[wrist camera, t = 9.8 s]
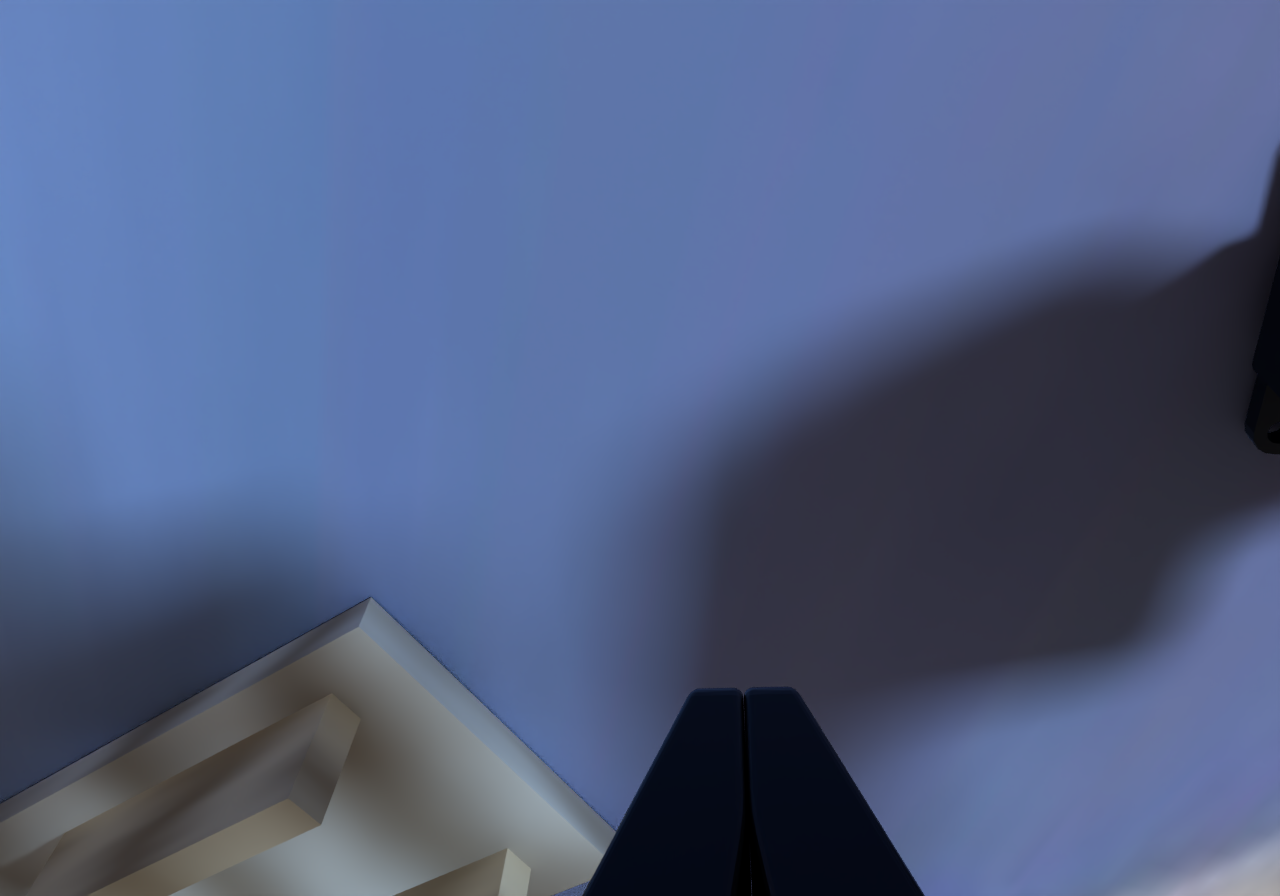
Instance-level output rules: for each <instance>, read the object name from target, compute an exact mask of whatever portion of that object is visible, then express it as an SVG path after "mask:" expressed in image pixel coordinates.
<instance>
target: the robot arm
mask: <svg viewBox="0 0 1280 896" xmlns="http://www.w3.org/2000/svg"><path fill="white" fill-rule="evenodd" d="M1252 367H1253V369H1254V371H1255V372H1256V373H1257V378H1256V382H1255V386H1254V390H1253V393H1252V397H1251V401H1250V405H1249V409H1248V412H1247V416H1246V420H1245V432H1246V434H1247V435H1248V437H1249V438H1250V440H1251V441H1252V442H1253V443H1254V445H1255V446H1256V447H1257V448H1258V449H1259V450H1261V451H1263V452H1265V453H1269V454H1280V429H1278V430H1277V431H1274V432H1270V433H1268V431H1269V429H1270V427H1271V426H1273V425H1274V424H1276V423H1277V422H1280V257H1279V261H1278V265H1277V269H1276V273H1275V277H1274V281H1273V285H1272V288H1271V292H1270V296H1269V300H1268V304H1267V308H1266V312H1265V316H1264V319H1263V323H1262V327H1261V331H1260V335H1259V339H1258V343H1257V346H1256V350H1255V354H1254V358H1253V362H1252ZM744 716H745V723H744ZM745 743H746V744H745ZM750 860H751V863H750ZM751 881H752V888H751ZM582 896H925V895H924V894H923V892H922V890H921V889H920V887H919V886H918V884H917V882H916V881H915V879H914V877H913V876H912V874H911V873H910V871H909V869H908V868H907V866H906V865H905V863H904V861H903V860H902V858H901V857H900V855H899V853H898V852H897V850H896V848H895V847H894V845H893V844H892V842H891V840H890V839H889V837H888V836H887V834H886V832H885V831H884V829H883V828H882V826H881V824H880V823H879V821H878V820H877V818H876V816H875V815H874V813H873V811H872V810H871V808H870V807H869V805H868V803H867V802H866V800H865V799H864V797H863V795H862V794H861V792H860V791H859V789H858V787H857V786H856V784H855V782H854V781H853V779H852V778H851V776H850V774H849V773H848V771H847V770H846V768H845V766H844V765H843V763H842V762H841V760H840V758H839V757H838V755H837V754H836V752H835V750H834V749H833V747H832V745H831V744H830V742H829V741H828V739H827V737H826V736H825V734H824V733H823V731H822V729H821V728H820V726H819V725H818V723H817V721H816V720H815V718H814V716H813V715H812V713H811V712H810V710H809V708H808V707H807V705H806V704H805V702H804V700H803V699H802V697H801V696H800V694H799V693H798V692H797V691H796V690H795V689H793V688H791V687H753V688H749V689H748V690H746V692H745V694H744V702H743V694H742V693H741V691H740V690H738V689H737V688H704V689H695V690H694V691H692V692H691V693H690V694H689V696H688V697H687V699H686V701H685V703H684V704H683V706H682V708H681V710H680V712H679V714H678V716H677V718H676V720H675V721H674V723H673V725H672V727H671V729H670V731H669V733H668V735H667V737H666V738H665V740H664V742H663V744H662V746H661V748H660V750H659V752H658V754H657V755H656V757H655V759H654V761H653V763H652V765H651V767H650V769H649V771H648V772H647V774H646V776H645V778H644V780H643V782H642V784H641V786H640V788H639V789H638V791H637V793H636V795H635V797H634V799H633V801H632V803H631V805H630V806H629V808H628V810H627V812H626V814H625V816H624V818H623V820H622V822H621V823H620V825H619V827H618V829H617V831H616V833H615V835H614V837H613V839H612V840H611V842H610V844H609V846H608V848H607V850H606V852H605V854H604V856H603V857H602V859H601V861H600V863H599V865H598V867H597V869H596V871H595V872H594V874H593V876H592V878H591V880H590V882H589V884H588V886H587V888H586V889H585V891H584V893H583V895H582Z"/></svg>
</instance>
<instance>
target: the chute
mask: <svg viewBox="0 0 1280 896" xmlns="http://www.w3.org/2000/svg"><path fill="white" fill-rule="evenodd" d="M615 833H616V831H615V830H614V829H613V828H612V827H610V826H609V825H608V824H607V823H606V822H605V821H604V820H603V819H602V818H601V817H600V816H599V815H598V814H597V813H596V812H595V811H594V810H593V809H592V808H591V807H590V806H589V805H588V804H586V803H585V802H584V801H583V800H582V799H581V798H580V797H579V796H578V795H577V794H576V793H575V792H574V791H573V790H572V789H571V788H570V787H569V786H568V785H567V784H566V783H565V782H564V781H562V780H561V779H560V778H559V777H558V776H557V775H556V774H555V773H554V772H553V771H552V770H551V769H550V768H549V767H548V766H547V765H546V764H545V763H544V762H543V761H542V760H541V759H540V758H538V757H537V756H536V755H535V754H534V753H533V752H532V751H531V750H530V749H529V748H528V747H527V746H526V745H525V744H524V743H523V742H522V741H521V740H520V739H519V738H518V737H517V736H516V735H514V734H513V733H512V732H511V731H510V730H509V729H508V728H507V727H506V726H505V725H504V724H503V723H502V722H501V721H500V720H499V719H498V718H497V717H496V716H495V715H494V714H493V713H492V712H490V711H489V710H488V709H487V708H486V707H485V706H484V705H483V704H482V703H481V702H480V701H479V700H478V699H477V698H476V697H475V696H474V695H473V694H472V693H471V692H470V691H469V690H468V689H466V688H465V687H464V686H463V685H462V684H461V683H460V682H459V681H458V680H457V679H456V678H455V677H454V676H453V675H452V674H451V673H450V672H449V671H448V670H447V669H446V668H445V667H444V666H442V665H441V664H440V663H439V662H438V661H437V660H436V659H435V658H434V657H433V656H432V655H431V654H430V653H429V652H428V651H427V650H426V649H425V648H424V647H423V646H422V645H421V644H420V643H418V642H417V641H416V640H415V639H414V638H413V637H412V636H411V635H410V634H409V633H408V632H407V631H406V630H405V629H404V628H403V627H402V626H401V625H400V624H399V623H398V622H397V621H396V620H394V619H393V618H392V617H391V616H390V615H389V614H388V613H387V612H386V611H385V610H384V609H383V608H382V607H381V606H380V605H379V604H378V603H377V602H376V601H375V600H374V599H373V598H372V597H370V598H369V599H367V600H365V601H363V602H361V603H360V604H358V605H356V606H354V607H353V608H351V609H349V610H347V611H345V612H344V613H342V614H340V615H338V616H336V617H335V618H333V619H331V620H329V621H327V622H326V623H324V624H322V625H320V626H318V627H317V628H315V629H313V630H311V631H309V632H308V633H306V634H304V635H302V636H301V637H299V638H297V639H295V640H293V641H292V642H290V643H288V644H286V645H284V646H283V647H281V648H279V649H277V650H275V651H274V652H272V653H270V654H268V655H266V656H265V657H263V658H261V659H259V660H257V661H256V662H254V663H252V664H250V665H249V666H247V667H245V668H243V669H241V670H240V671H238V672H236V673H234V674H232V675H231V676H229V677H227V678H225V679H223V680H222V681H220V682H218V683H216V684H214V685H213V686H211V687H209V688H207V689H205V690H204V691H202V692H200V693H198V694H196V695H195V696H193V697H191V698H189V699H188V700H186V701H184V702H182V703H180V704H179V705H177V706H175V707H173V708H171V709H170V710H168V711H166V712H164V713H162V714H161V715H159V716H157V717H155V718H153V719H152V720H150V721H148V722H146V723H144V724H143V725H141V726H139V727H137V728H136V729H134V730H132V731H130V732H128V733H127V734H125V735H123V736H121V737H119V738H118V739H116V740H114V741H112V742H110V743H109V744H107V745H105V746H103V747H101V748H100V749H98V750H96V751H94V752H92V753H91V754H89V755H87V756H85V757H84V758H82V759H80V760H78V761H76V762H75V763H73V764H71V765H69V766H67V767H66V768H64V769H62V770H60V771H58V772H57V773H55V774H53V775H51V776H49V777H48V778H46V779H44V780H42V781H40V782H39V783H37V784H35V785H33V786H32V787H30V788H28V789H26V790H24V791H23V792H21V793H19V794H17V795H15V796H14V797H12V798H10V799H8V800H6V801H5V802H3V803H1V804H0V896H552V895H554V894H557V893H559V892H562V891H565V890H567V889H570V888H572V887H575V886H577V885H580V884H583V883H585V882H588V881H590V880H591V878H592V876H593V874H594V872H595V871H596V869H597V867H598V865H599V863H600V861H601V859H602V857H603V856H604V854H605V852H606V850H607V848H608V846H609V844H610V842H611V840H612V839H613V837H614V835H615Z"/></svg>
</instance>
